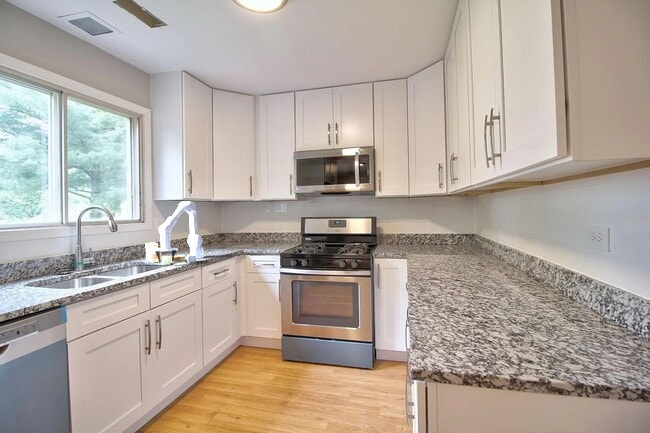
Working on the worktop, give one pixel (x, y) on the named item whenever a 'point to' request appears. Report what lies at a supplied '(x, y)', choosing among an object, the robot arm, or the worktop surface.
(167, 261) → the sage block
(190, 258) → the dusty blue block
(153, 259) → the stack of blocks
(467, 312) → the worktop surface
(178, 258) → the walnut base block
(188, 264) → the plaque
